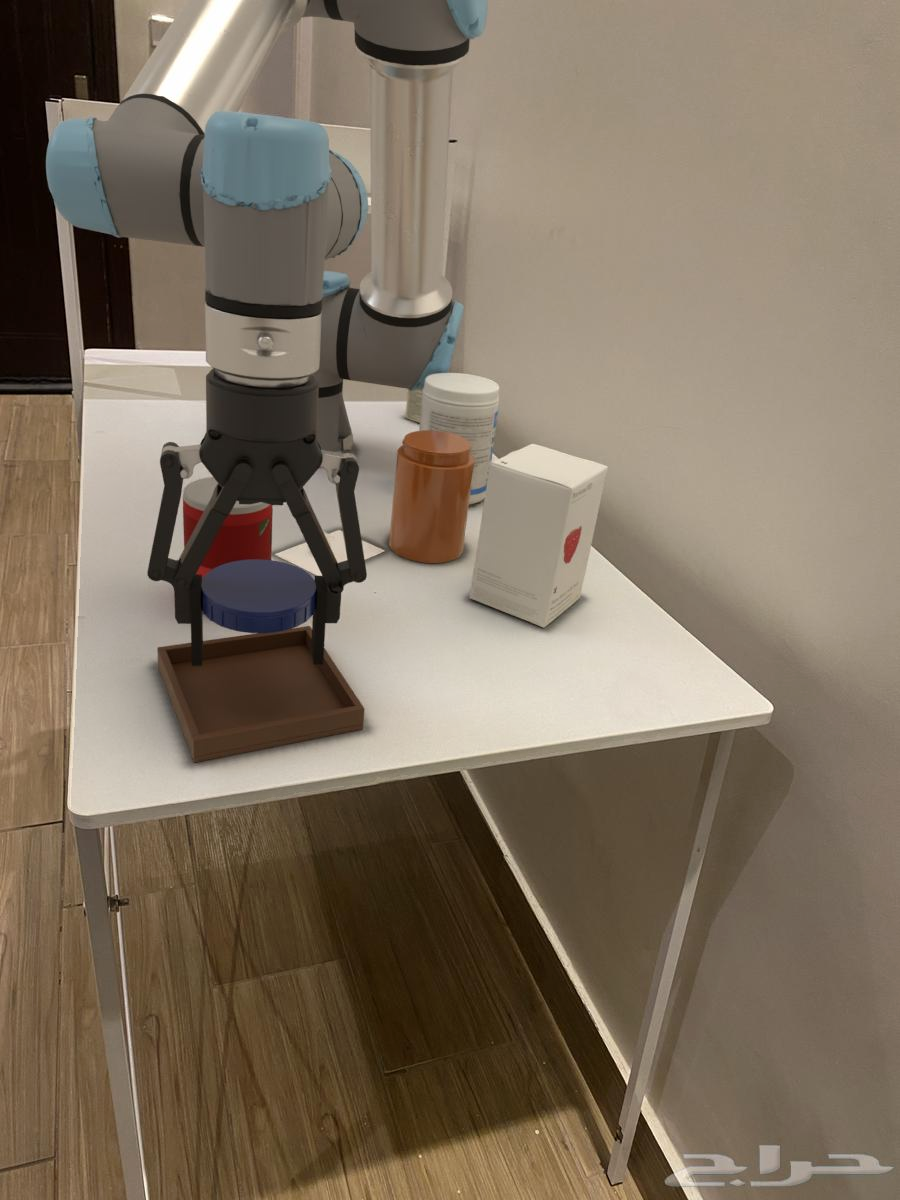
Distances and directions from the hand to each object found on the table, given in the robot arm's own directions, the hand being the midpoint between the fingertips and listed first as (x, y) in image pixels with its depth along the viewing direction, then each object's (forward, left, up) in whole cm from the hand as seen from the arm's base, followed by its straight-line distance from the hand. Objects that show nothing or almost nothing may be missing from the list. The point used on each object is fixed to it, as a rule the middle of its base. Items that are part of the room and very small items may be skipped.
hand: (258, 655), depth 72 cm
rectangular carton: (-9, +31, -4) cm, 33 cm away
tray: (0, 0, -4) cm, 4 cm away
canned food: (-17, +2, -4) cm, 18 cm away
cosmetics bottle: (-66, +46, -4) cm, 81 cm away
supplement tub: (-37, +36, -4) cm, 52 cm away
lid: (0, 0, +6) cm, 6 cm away
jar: (-23, +26, -4) cm, 35 cm away
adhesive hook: (-24, +15, -4) cm, 29 cm away
